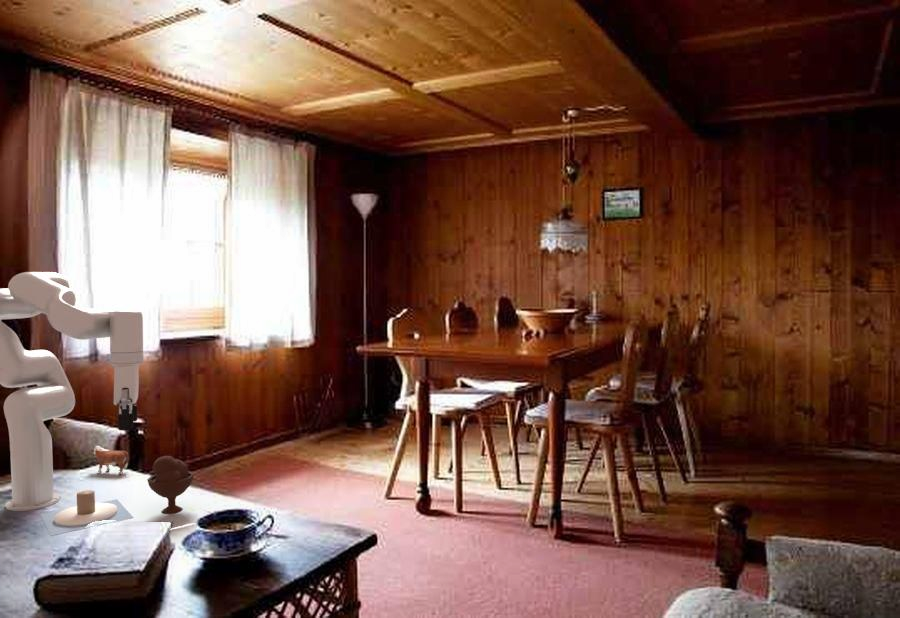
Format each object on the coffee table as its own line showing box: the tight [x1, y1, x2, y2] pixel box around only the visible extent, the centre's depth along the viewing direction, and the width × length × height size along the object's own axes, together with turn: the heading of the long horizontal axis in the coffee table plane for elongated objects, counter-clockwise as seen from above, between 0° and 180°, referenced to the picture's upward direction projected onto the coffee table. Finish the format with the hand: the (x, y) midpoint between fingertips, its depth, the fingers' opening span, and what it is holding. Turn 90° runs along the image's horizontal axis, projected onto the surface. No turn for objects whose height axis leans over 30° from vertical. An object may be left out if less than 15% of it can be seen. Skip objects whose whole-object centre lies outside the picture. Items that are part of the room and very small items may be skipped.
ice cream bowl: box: [147, 455, 195, 515], centre depth 169 cm, size 11×11×15 cm
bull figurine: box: [90, 445, 129, 475], centre depth 205 cm, size 4×13×8 cm, turn 73°
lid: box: [54, 489, 117, 526], centre depth 166 cm, size 14×14×6 cm
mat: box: [39, 498, 134, 537], centre depth 166 cm, size 18×18×1 cm
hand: (128, 425), depth 166 cm, fingers open, 9 cm apart
